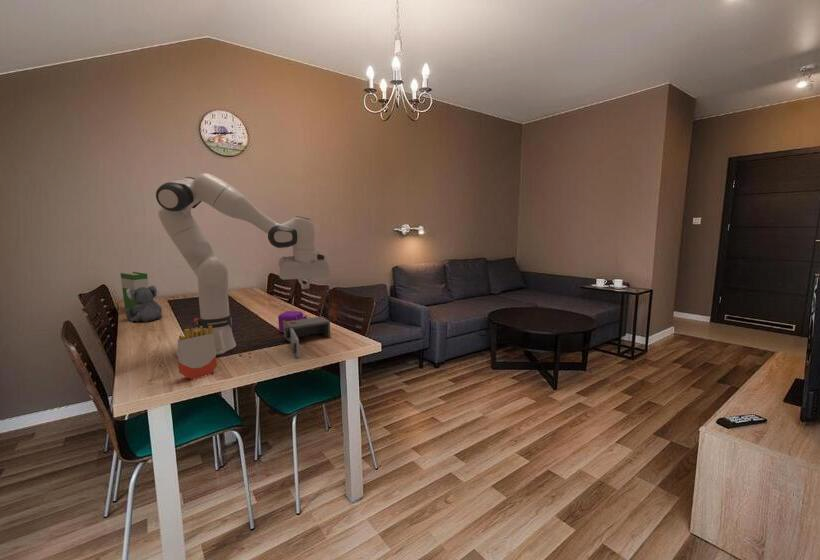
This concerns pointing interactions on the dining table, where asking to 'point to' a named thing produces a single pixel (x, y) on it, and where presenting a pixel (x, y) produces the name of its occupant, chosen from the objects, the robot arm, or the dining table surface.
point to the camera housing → (307, 327)
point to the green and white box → (132, 286)
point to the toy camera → (289, 318)
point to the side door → (295, 343)
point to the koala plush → (144, 304)
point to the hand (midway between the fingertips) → (305, 288)
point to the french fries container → (197, 353)
